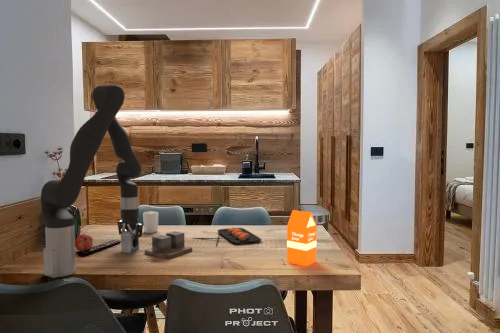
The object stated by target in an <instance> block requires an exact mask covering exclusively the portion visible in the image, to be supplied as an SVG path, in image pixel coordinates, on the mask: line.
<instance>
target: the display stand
mask: <svg viewBox="0 0 500 333" xmlns="http://www.w3.org/2000/svg"><path fill="white" fill-rule="evenodd" d="M190 252H193V247H191V246H186V245H185V232H182V231H176V230H174V231H171V232H166V233H165V234H158V235H155V236H152V237H151V248H147V249H144V254H145V255H148V256H154V257H157V258H162V259H166V260H171V259H173V258H176V257H179V256H182V255H185V254H187V253H190Z"/></svg>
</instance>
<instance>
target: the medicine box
mask: <svg viewBox="0 0 500 333" xmlns="http://www.w3.org/2000/svg"><path fill="white" fill-rule="evenodd" d="M134 231H135V230H134ZM121 232H122V231H121ZM134 234H135V233H134ZM135 235H136V234H135ZM138 235H139V234H138ZM138 249H140V237H139V238H138V246H137V247H133V237H132V233H131V232H130V231H124V232H122V233H121V235H120V252H121V253H124V254H131V253H134V252H135V251H137V250H138Z"/></svg>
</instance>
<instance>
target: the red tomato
mask: <svg viewBox="0 0 500 333" xmlns="http://www.w3.org/2000/svg"><path fill="white" fill-rule="evenodd" d="M93 242H94V241H93V237H92V236H91V235H87V234H84V233H83V234H79V235H78V236H77V237H76V238H75V250H76V251H78V252H84V251H83V250H88V249H90V250H91V249H92V248H93V246H94V244H93ZM88 251H89V250H88Z"/></svg>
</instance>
